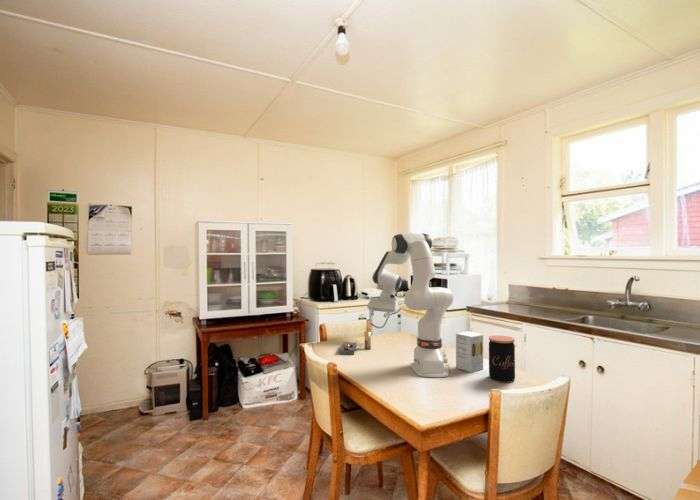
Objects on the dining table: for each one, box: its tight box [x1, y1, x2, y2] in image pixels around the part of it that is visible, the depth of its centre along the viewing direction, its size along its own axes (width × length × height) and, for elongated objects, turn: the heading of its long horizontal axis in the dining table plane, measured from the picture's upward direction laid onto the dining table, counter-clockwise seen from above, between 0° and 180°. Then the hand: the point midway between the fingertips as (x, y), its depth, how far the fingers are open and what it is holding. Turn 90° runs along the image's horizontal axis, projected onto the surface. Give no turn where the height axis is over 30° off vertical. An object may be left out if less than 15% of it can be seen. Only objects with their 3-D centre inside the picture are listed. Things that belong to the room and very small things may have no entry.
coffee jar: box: [488, 335, 516, 383], centre depth 157 cm, size 11×11×18 cm
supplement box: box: [455, 330, 484, 373], centre depth 171 cm, size 10×9×17 cm
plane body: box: [339, 342, 357, 356], centre depth 203 cm, size 16×8×5 cm, turn 174°
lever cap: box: [364, 330, 372, 351], centre depth 206 cm, size 4×4×10 cm
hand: (378, 316), depth 216 cm, fingers open, 8 cm apart
